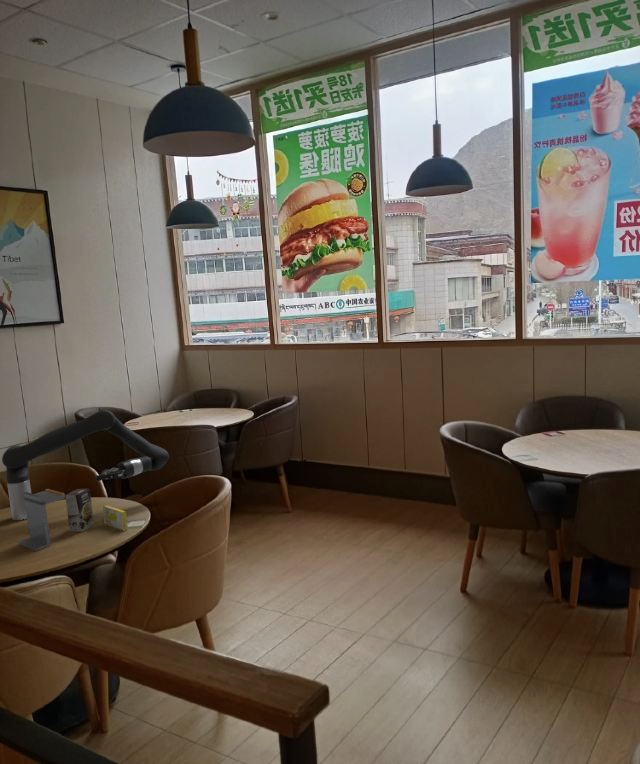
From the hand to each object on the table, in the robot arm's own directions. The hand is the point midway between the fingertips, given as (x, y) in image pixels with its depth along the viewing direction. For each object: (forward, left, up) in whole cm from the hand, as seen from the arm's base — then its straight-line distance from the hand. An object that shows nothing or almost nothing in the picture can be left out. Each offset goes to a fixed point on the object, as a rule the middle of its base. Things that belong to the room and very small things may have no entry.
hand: (96, 478), depth 268 cm
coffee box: (0, -9, -19) cm, 21 cm away
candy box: (+13, -1, -19) cm, 23 cm away
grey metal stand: (0, -26, -19) cm, 32 cm away
